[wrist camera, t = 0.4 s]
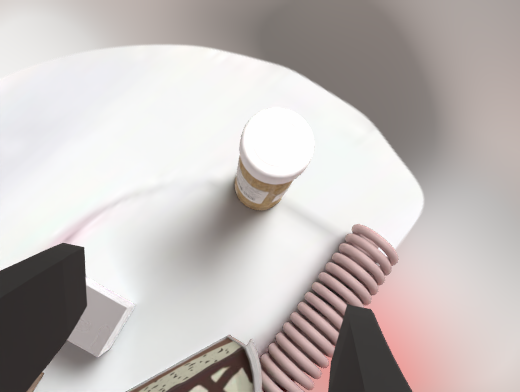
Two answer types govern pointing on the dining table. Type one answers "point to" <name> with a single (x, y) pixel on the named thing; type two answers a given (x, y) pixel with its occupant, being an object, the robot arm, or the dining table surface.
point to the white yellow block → (100, 319)
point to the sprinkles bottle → (271, 156)
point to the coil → (326, 311)
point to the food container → (211, 371)
